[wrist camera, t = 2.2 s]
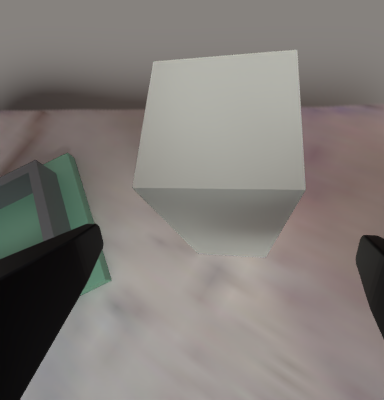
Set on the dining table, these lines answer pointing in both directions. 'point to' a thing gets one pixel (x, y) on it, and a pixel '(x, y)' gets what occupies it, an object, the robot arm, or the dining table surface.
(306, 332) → the dining table surface
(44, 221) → the green and grey tray
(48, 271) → the robot arm
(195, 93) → the white rectangular block
